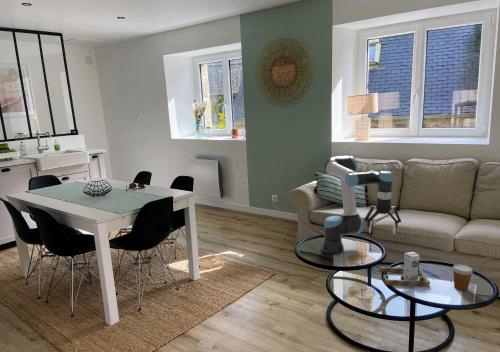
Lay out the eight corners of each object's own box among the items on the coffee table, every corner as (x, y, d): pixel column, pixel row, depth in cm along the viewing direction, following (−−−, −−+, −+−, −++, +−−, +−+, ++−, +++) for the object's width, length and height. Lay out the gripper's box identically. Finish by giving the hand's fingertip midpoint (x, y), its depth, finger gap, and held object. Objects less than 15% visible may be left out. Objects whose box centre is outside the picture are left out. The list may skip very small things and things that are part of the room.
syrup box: (410, 280, 209) (411, 256, 206) (403, 275, 214) (404, 252, 211) (418, 278, 210) (420, 255, 207) (411, 274, 216) (413, 251, 213)
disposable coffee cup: (464, 283, 203) (466, 263, 201) (475, 292, 194) (477, 271, 192) (447, 284, 203) (449, 264, 201) (457, 293, 194) (459, 272, 191)
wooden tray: (385, 285, 204) (386, 280, 203) (379, 271, 220) (379, 266, 219) (429, 287, 201) (429, 281, 200) (419, 273, 217) (420, 268, 216)
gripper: (362, 199, 210) (360, 234, 214) (408, 200, 206) (405, 236, 211) (360, 195, 217) (358, 229, 222) (405, 196, 213) (402, 231, 218)
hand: (381, 232), depth 216 cm, fingers open, 13 cm apart
